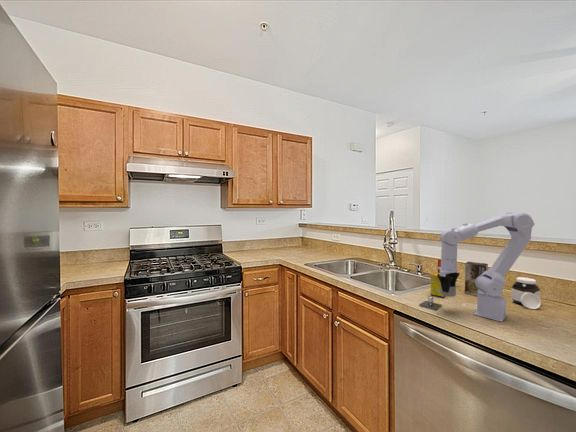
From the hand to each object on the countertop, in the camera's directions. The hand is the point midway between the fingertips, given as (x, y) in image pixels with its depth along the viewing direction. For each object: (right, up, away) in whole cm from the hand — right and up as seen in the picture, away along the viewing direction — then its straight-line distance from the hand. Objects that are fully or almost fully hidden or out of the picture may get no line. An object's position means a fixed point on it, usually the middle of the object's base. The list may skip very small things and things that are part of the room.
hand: (448, 290), depth 114 cm
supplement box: (+8, -9, +22) cm, 25 cm away
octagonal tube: (0, -2, 0) cm, 2 cm away
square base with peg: (-4, -9, +7) cm, 12 cm away
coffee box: (+29, -9, +24) cm, 38 cm away
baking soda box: (+21, -8, +37) cm, 43 cm away
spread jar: (+42, -10, +9) cm, 44 cm away
